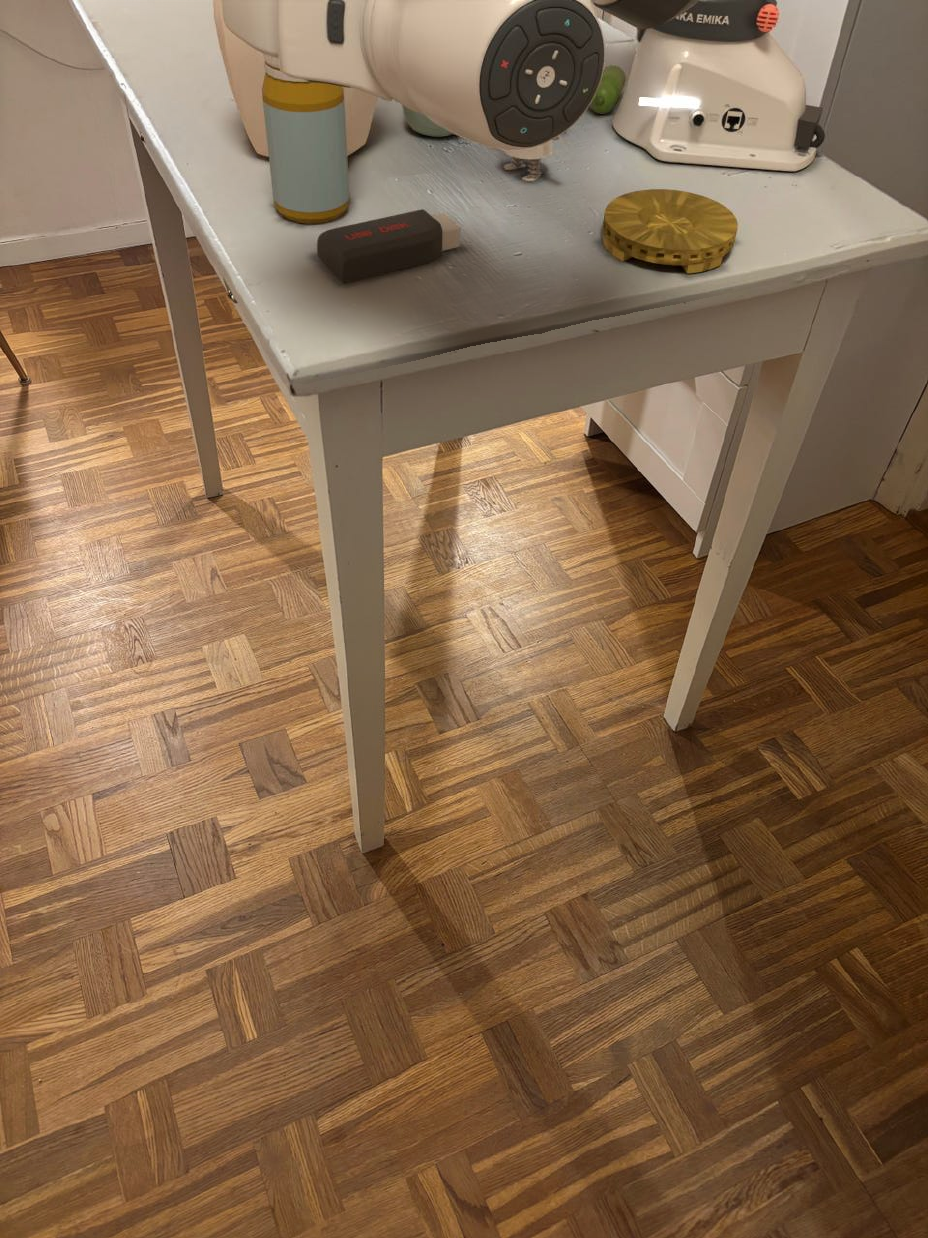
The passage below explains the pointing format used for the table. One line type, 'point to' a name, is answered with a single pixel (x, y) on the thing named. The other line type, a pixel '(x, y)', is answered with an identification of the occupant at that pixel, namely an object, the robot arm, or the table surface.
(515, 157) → the toy figure
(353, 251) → the usb drive
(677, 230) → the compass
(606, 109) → the pickle
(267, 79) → the bottle
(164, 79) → the table surface
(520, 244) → the table surface
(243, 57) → the watering can
